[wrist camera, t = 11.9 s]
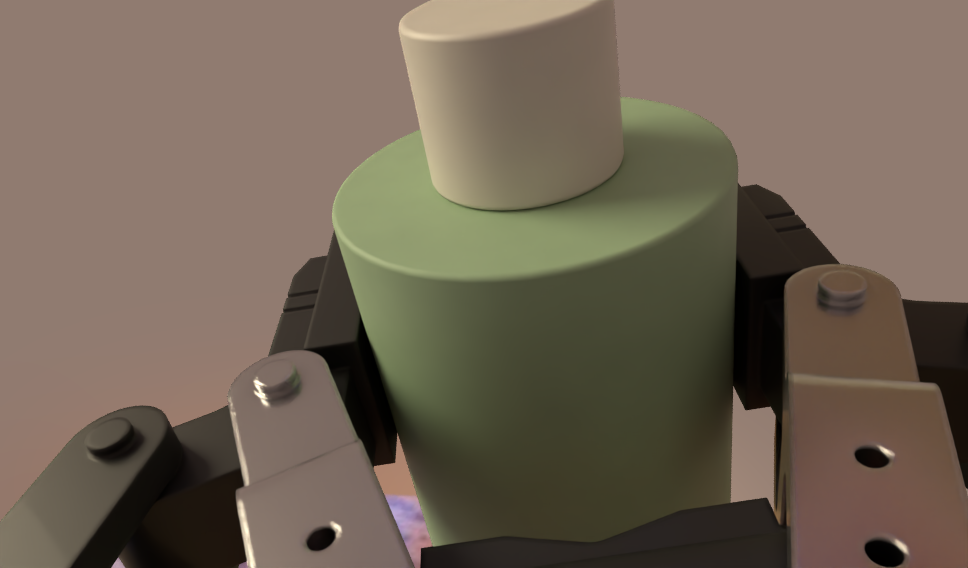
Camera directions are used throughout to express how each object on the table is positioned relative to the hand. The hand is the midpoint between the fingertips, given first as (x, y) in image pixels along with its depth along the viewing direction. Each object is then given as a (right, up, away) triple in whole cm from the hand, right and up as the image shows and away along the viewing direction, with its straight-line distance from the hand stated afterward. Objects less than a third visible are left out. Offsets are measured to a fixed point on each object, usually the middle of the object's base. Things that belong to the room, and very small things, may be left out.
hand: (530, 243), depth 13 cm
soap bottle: (+2, -12, +4) cm, 13 cm away
